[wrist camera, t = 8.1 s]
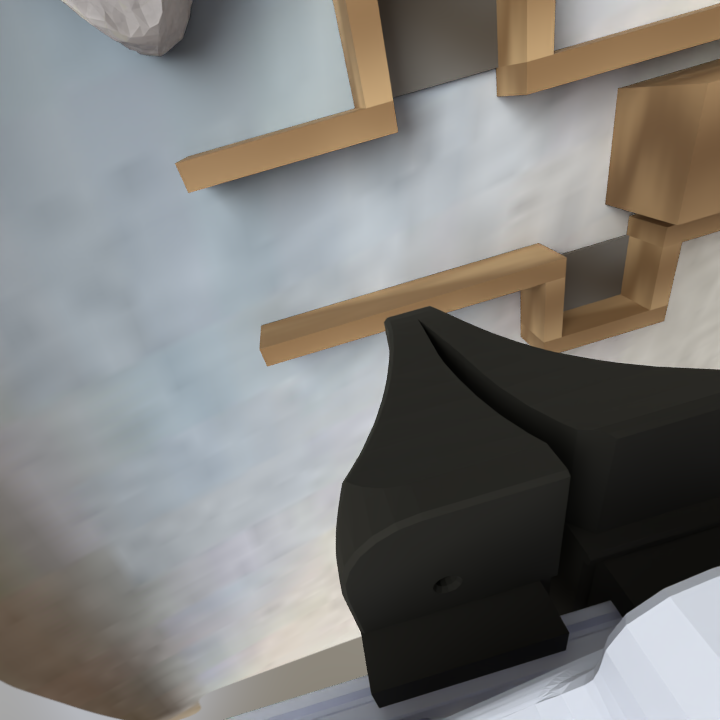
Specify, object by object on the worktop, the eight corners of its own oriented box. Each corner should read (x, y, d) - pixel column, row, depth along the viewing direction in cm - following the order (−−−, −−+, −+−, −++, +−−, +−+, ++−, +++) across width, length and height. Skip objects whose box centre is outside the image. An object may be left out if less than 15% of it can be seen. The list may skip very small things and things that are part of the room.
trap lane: (725, 274, 24) (766, 289, 22) (295, 404, 23) (297, 432, 21) (877, -220, 14) (980, -276, 12) (116, -8, 13) (88, -29, 11)
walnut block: (713, 170, 20) (811, 184, 17) (603, 203, 20) (677, 225, 17) (743, 51, 18) (869, 35, 14) (615, 88, 18) (707, 83, 14)
